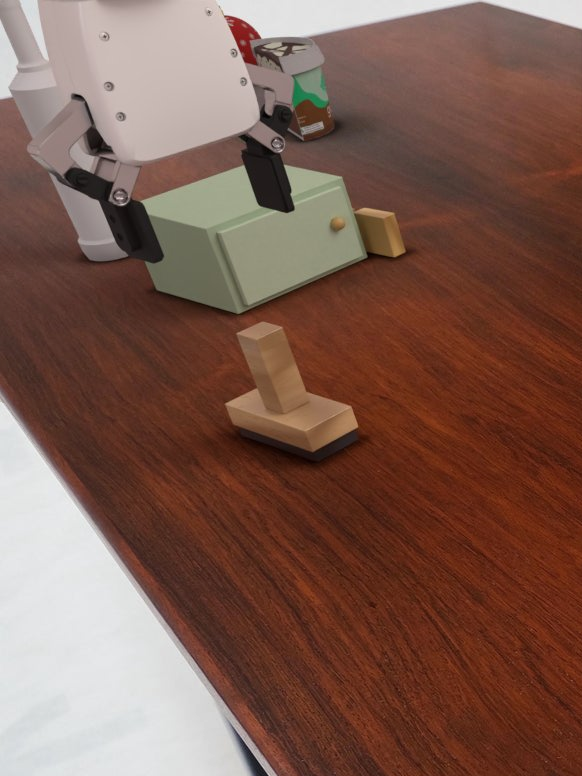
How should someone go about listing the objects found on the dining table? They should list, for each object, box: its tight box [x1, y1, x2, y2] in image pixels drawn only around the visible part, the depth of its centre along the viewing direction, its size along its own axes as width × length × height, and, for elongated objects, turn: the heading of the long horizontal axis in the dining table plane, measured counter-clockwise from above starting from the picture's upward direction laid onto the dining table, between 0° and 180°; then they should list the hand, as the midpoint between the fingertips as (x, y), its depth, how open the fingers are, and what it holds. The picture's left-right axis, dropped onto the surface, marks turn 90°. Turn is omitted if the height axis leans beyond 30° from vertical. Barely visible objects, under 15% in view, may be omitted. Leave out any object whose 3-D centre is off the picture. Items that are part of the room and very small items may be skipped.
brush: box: [224, 321, 359, 463], centre depth 93 cm, size 4×9×9 cm, turn 61°
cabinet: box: [139, 164, 368, 315], centre depth 119 cm, size 14×14×8 cm
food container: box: [250, 36, 335, 142], centre depth 157 cm, size 12×6×10 cm, turn 41°
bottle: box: [0, 0, 130, 262], centre depth 120 cm, size 5×5×25 cm
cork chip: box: [353, 207, 407, 258], centre depth 124 cm, size 4×4×2 cm
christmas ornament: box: [218, 4, 263, 66], centre depth 176 cm, size 9×9×10 cm
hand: (214, 232), depth 86 cm, fingers open, 9 cm apart
